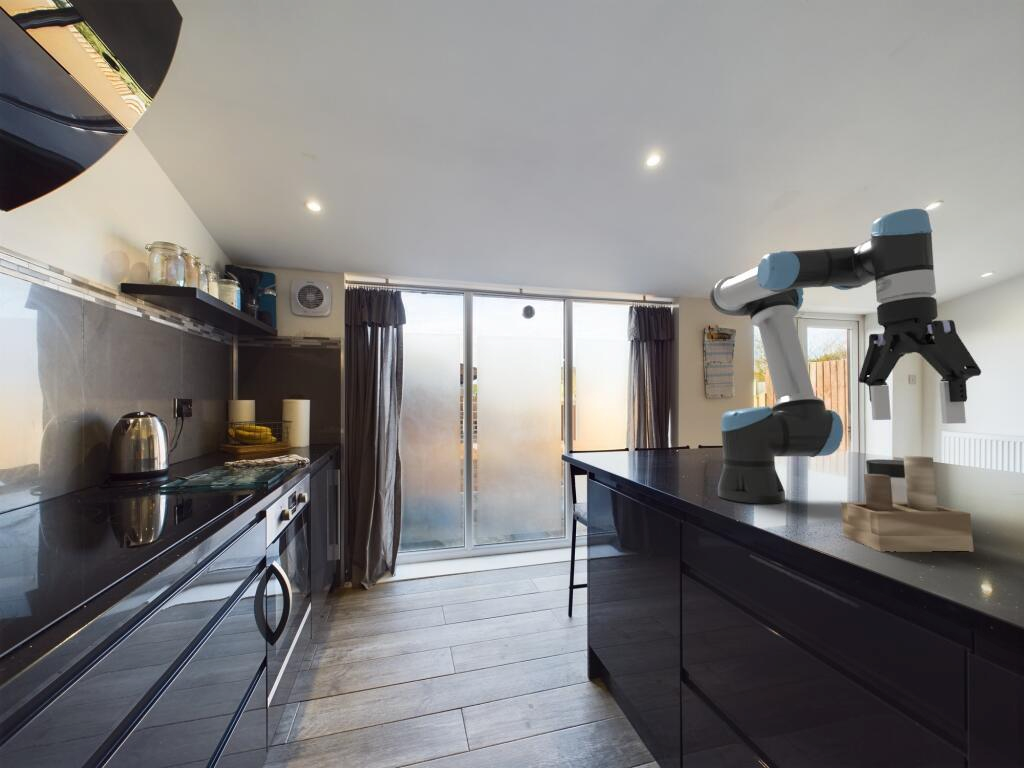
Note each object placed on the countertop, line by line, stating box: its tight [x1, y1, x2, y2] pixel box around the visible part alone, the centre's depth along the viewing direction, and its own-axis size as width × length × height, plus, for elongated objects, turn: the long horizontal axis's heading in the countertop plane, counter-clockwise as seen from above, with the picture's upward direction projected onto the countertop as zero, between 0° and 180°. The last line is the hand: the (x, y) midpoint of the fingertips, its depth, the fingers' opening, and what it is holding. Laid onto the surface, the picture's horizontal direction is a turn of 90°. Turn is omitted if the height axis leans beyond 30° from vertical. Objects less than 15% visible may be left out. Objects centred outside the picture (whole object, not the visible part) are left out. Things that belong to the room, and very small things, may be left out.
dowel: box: [903, 455, 938, 511], centre depth 69 cm, size 4×4×12 cm
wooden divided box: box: [840, 501, 975, 553], centre depth 69 cm, size 8×14×6 cm, turn 86°
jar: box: [865, 458, 907, 502], centre depth 81 cm, size 9×8×12 cm
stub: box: [863, 473, 893, 512], centre depth 69 cm, size 3×3×9 cm
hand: (914, 421), depth 70 cm, fingers open, 13 cm apart
